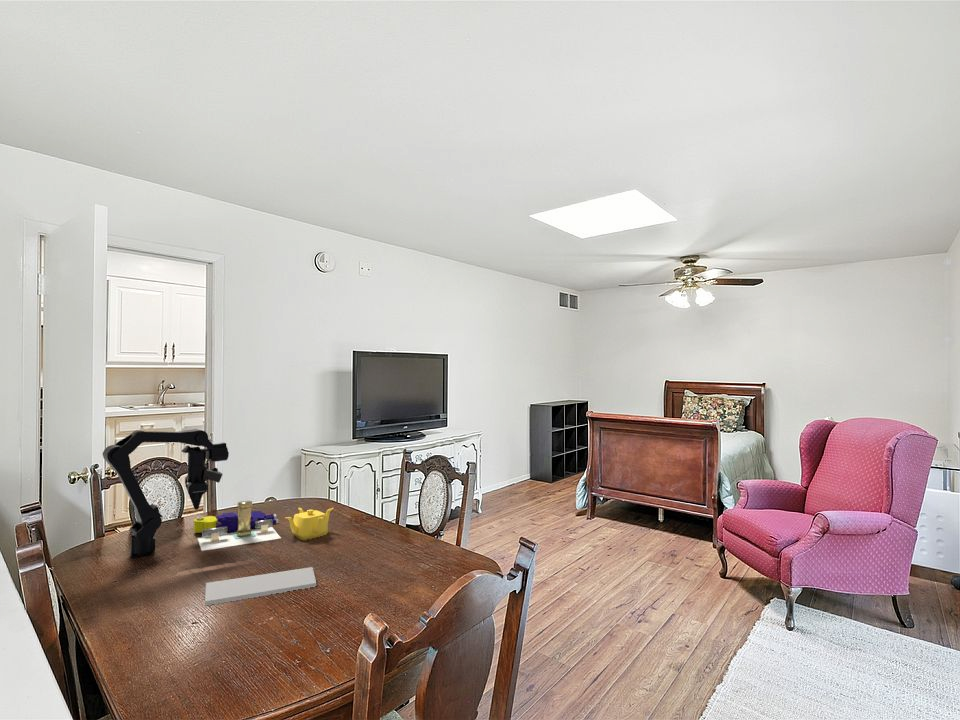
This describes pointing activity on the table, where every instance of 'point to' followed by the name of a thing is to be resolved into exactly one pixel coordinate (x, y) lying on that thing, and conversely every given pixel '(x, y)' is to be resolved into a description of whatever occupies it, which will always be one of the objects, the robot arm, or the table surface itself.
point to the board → (237, 539)
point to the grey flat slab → (259, 585)
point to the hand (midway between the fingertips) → (195, 506)
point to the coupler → (244, 518)
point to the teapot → (309, 524)
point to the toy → (229, 521)
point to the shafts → (216, 532)
